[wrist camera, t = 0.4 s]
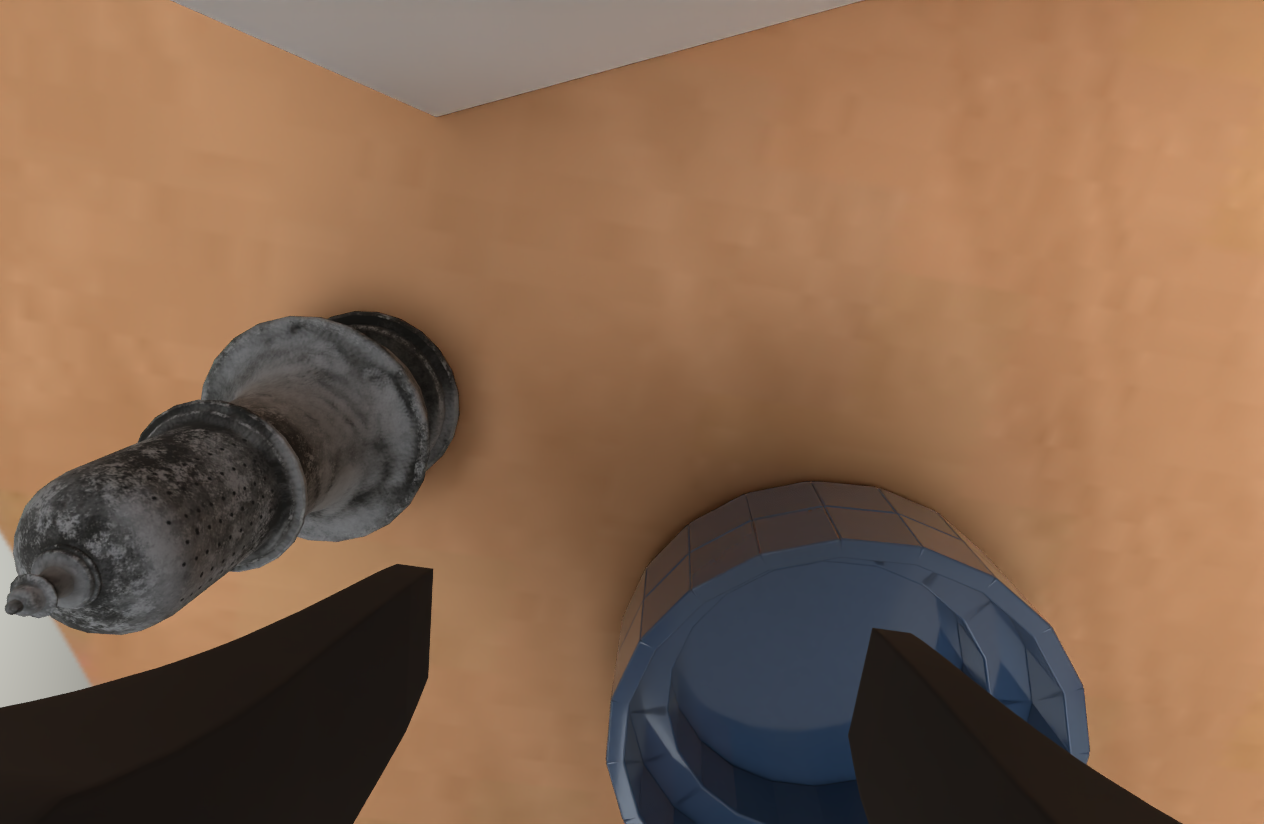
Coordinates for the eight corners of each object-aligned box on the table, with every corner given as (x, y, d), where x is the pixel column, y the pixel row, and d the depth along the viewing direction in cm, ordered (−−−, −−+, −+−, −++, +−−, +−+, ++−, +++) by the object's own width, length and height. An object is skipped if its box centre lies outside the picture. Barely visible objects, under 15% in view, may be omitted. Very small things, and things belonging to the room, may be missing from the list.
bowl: (964, 831, 24) (1028, 966, 20) (607, 790, 24) (592, 913, 20) (1047, 496, 21) (1145, 569, 16) (636, 457, 21) (626, 517, 17)
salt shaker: (498, 352, 21) (270, 517, 9) (430, 522, 22) (159, 847, 11) (309, 266, 20) (-176, 324, 9) (252, 444, 22) (-224, 692, 10)
